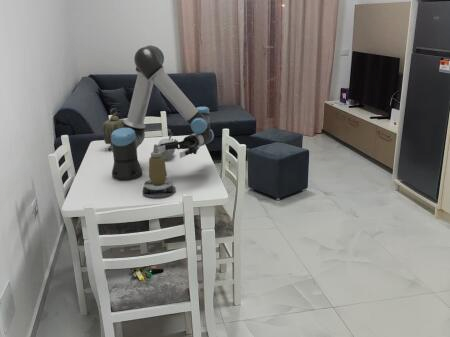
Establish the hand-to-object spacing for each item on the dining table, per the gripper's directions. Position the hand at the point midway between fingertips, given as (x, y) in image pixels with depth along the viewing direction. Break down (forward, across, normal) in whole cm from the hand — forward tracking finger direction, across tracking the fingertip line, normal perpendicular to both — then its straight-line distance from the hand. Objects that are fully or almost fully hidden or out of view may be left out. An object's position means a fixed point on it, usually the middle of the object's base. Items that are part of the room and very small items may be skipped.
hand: (168, 153), depth 200 cm
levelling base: (+9, 0, -16) cm, 18 cm away
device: (-42, +32, -16) cm, 55 cm away
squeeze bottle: (+9, 0, -12) cm, 15 cm away
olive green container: (-38, +67, -16) cm, 79 cm away
